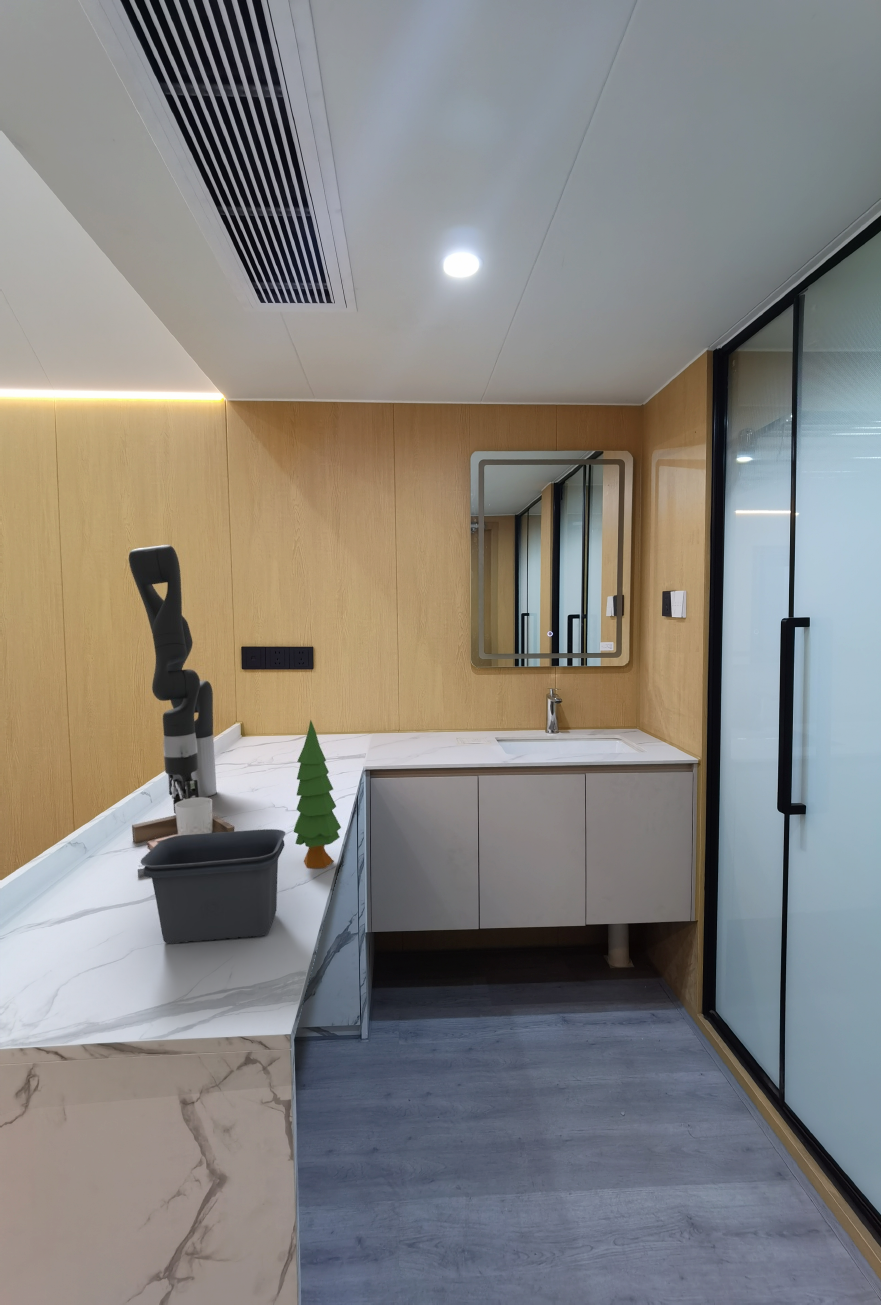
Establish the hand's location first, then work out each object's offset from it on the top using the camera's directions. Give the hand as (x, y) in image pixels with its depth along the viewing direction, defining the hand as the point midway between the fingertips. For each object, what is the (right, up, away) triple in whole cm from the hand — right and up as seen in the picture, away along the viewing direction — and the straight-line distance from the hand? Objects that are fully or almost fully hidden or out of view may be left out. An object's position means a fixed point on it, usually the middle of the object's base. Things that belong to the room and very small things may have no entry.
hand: (185, 817), depth 155 cm
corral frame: (+6, -4, -12) cm, 14 cm away
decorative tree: (+37, -4, -23) cm, 44 cm away
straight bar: (+9, -5, -24) cm, 26 cm away
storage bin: (+26, -6, -48) cm, 55 cm away
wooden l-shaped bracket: (+3, -4, -8) cm, 9 cm away
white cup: (+7, -4, -11) cm, 13 cm away
